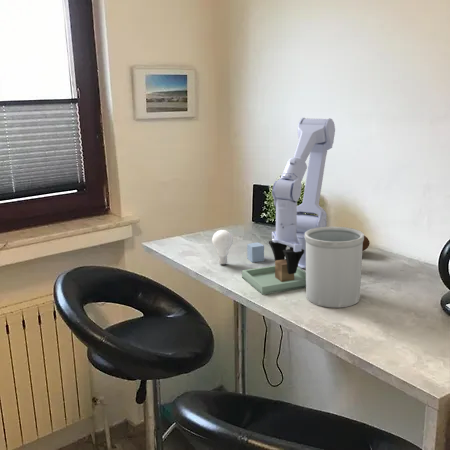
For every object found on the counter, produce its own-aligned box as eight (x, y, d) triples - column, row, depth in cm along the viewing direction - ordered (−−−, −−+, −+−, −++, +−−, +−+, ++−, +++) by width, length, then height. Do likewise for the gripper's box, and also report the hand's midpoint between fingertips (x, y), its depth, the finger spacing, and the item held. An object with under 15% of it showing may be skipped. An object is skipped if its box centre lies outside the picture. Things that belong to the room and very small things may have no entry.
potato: (351, 248, 187) (352, 225, 185) (373, 256, 179) (374, 232, 177) (334, 252, 183) (335, 229, 181) (357, 260, 175) (358, 236, 173)
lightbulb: (231, 268, 171) (230, 233, 168) (210, 267, 172) (209, 232, 169) (235, 261, 177) (234, 227, 174) (215, 260, 178) (214, 227, 175)
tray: (291, 269, 168) (291, 262, 168) (314, 285, 156) (315, 278, 155) (242, 277, 163) (242, 270, 162) (262, 294, 150) (262, 286, 150)
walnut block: (275, 277, 161) (275, 260, 160) (287, 275, 162) (287, 258, 161) (281, 281, 157) (281, 264, 156) (294, 279, 159) (294, 262, 157)
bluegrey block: (258, 257, 180) (258, 242, 179) (264, 260, 177) (264, 245, 176) (247, 258, 179) (247, 243, 178) (252, 262, 175) (252, 247, 174)
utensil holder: (293, 292, 152) (294, 229, 147) (341, 283, 157) (343, 223, 152) (321, 313, 138) (323, 244, 134) (372, 303, 143) (376, 237, 139)
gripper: (262, 218, 161) (262, 263, 164) (285, 230, 148) (284, 279, 151) (284, 215, 163) (283, 259, 167) (308, 227, 150) (307, 275, 154)
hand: (285, 268), depth 159 cm, fingers open, 7 cm apart
